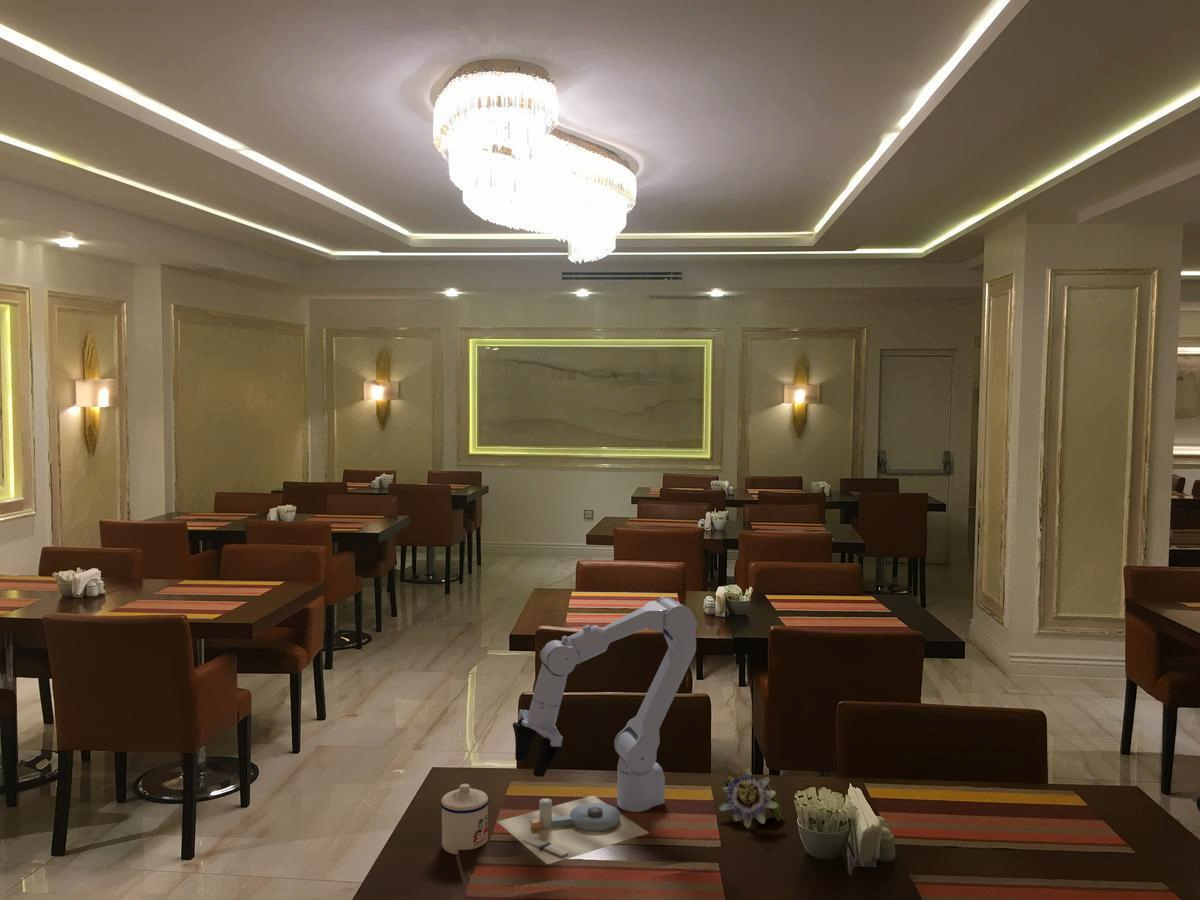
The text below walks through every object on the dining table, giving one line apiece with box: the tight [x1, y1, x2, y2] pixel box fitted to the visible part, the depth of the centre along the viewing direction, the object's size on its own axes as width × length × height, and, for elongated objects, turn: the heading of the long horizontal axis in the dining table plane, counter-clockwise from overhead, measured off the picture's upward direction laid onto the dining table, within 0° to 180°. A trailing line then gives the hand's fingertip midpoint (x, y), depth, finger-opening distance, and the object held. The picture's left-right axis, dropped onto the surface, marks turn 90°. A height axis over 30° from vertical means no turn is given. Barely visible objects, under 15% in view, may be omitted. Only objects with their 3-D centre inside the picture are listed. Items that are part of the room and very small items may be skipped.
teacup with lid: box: [439, 783, 490, 856], centre depth 182 cm, size 12×9×12 cm
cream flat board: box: [496, 795, 650, 865], centre depth 186 cm, size 23×20×2 cm
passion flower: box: [717, 768, 783, 830], centre depth 192 cm, size 11×11×12 cm
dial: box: [531, 797, 621, 832], centre depth 188 cm, size 18×10×5 cm, turn 105°
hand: (529, 767), depth 189 cm, fingers open, 7 cm apart
